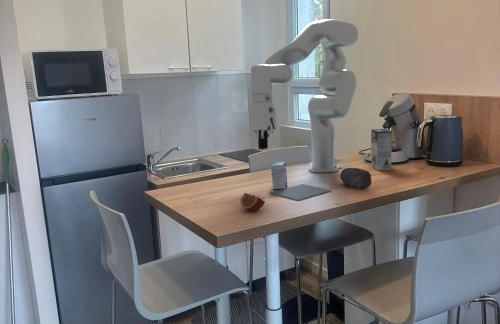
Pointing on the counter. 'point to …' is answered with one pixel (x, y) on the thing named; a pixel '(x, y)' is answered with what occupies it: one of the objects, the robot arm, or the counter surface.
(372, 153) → the coffee box
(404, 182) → the counter surface
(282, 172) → the medicine box
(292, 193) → the mat
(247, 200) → the fruit slice
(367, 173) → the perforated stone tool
